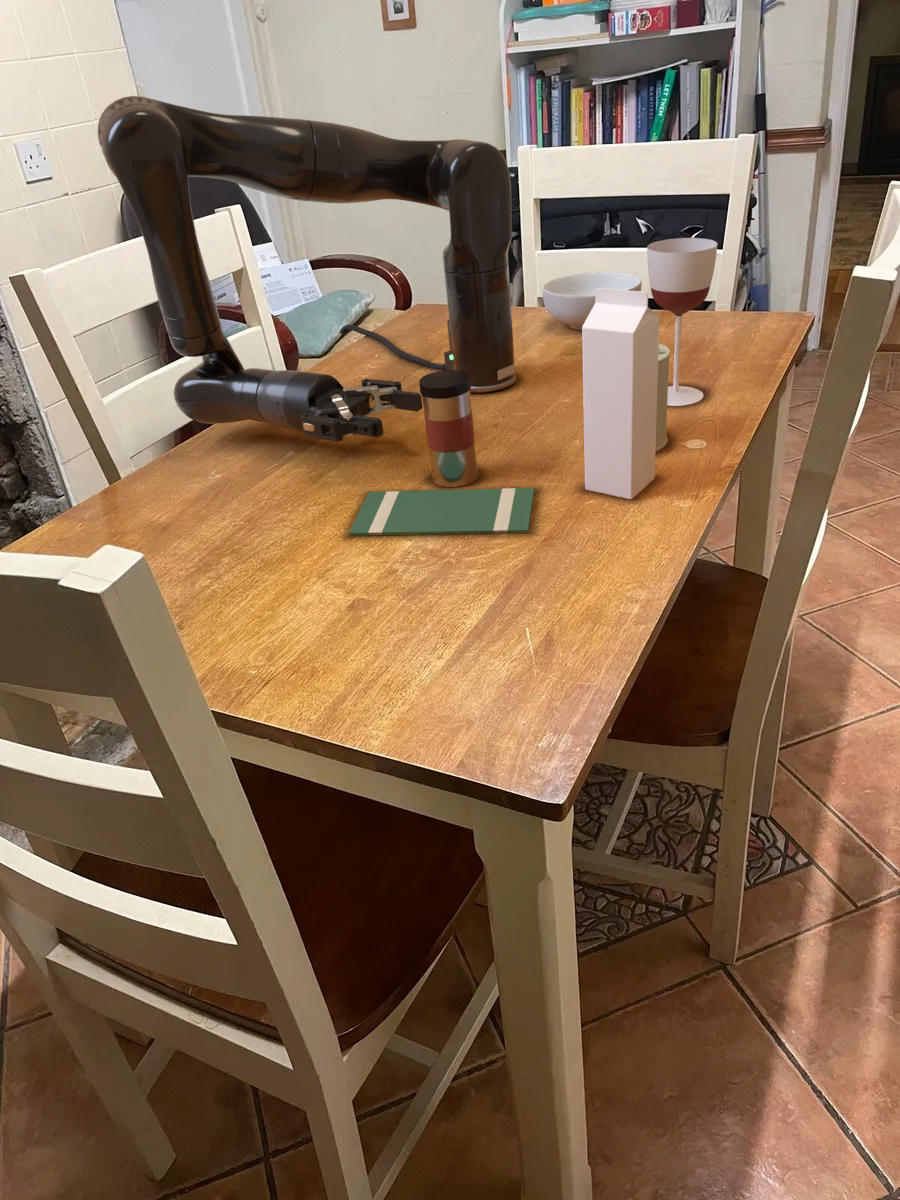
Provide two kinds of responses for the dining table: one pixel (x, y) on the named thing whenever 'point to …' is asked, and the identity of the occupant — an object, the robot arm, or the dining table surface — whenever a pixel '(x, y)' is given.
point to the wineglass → (681, 292)
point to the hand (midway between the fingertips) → (401, 415)
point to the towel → (445, 512)
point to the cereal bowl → (582, 294)
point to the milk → (620, 392)
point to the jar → (449, 427)
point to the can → (662, 396)
